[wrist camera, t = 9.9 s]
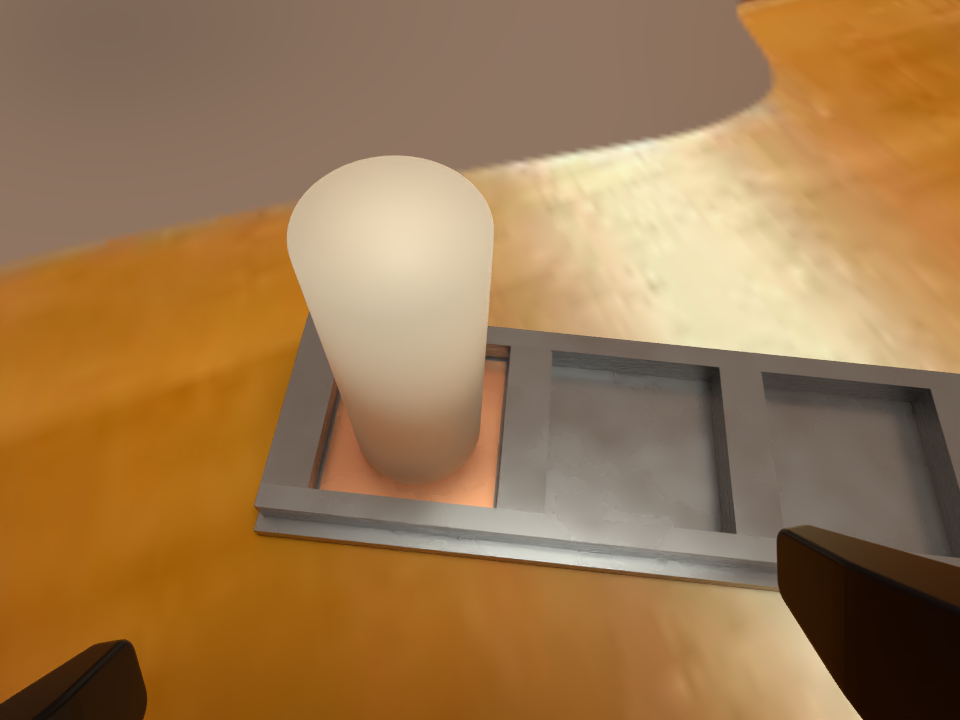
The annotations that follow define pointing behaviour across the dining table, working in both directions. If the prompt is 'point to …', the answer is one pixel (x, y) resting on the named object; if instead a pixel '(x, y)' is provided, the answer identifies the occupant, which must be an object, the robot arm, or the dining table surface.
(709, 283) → the dining table surface
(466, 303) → the post
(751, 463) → the compartment tray
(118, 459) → the dining table surface
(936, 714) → the robot arm
